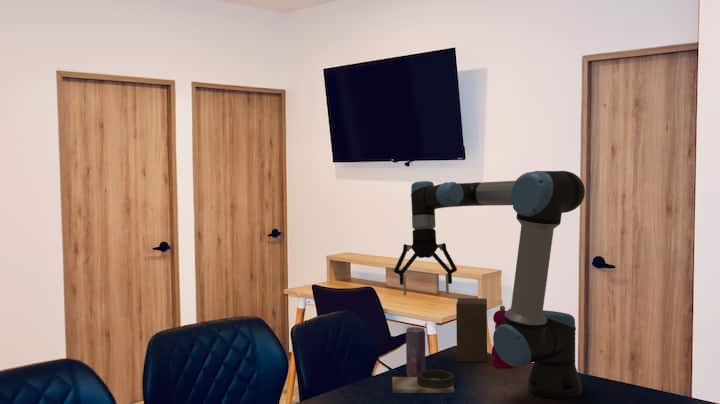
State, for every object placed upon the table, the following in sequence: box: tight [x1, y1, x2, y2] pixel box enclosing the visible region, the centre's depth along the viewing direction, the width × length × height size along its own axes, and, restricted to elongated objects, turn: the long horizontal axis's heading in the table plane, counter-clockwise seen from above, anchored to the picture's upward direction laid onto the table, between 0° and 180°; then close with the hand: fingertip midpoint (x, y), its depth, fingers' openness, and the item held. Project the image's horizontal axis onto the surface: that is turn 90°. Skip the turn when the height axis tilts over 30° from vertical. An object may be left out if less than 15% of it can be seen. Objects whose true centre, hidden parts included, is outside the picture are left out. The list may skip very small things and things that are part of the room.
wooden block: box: [455, 297, 488, 363], centre depth 232 cm, size 10×10×20 cm
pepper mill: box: [491, 305, 513, 369], centre depth 223 cm, size 7×7×20 cm
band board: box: [391, 369, 455, 394], centre depth 203 cm, size 18×12×3 cm, turn 88°
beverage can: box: [405, 326, 426, 377], centre depth 213 cm, size 6×6×15 cm
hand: (426, 295), depth 217 cm, fingers open, 13 cm apart
